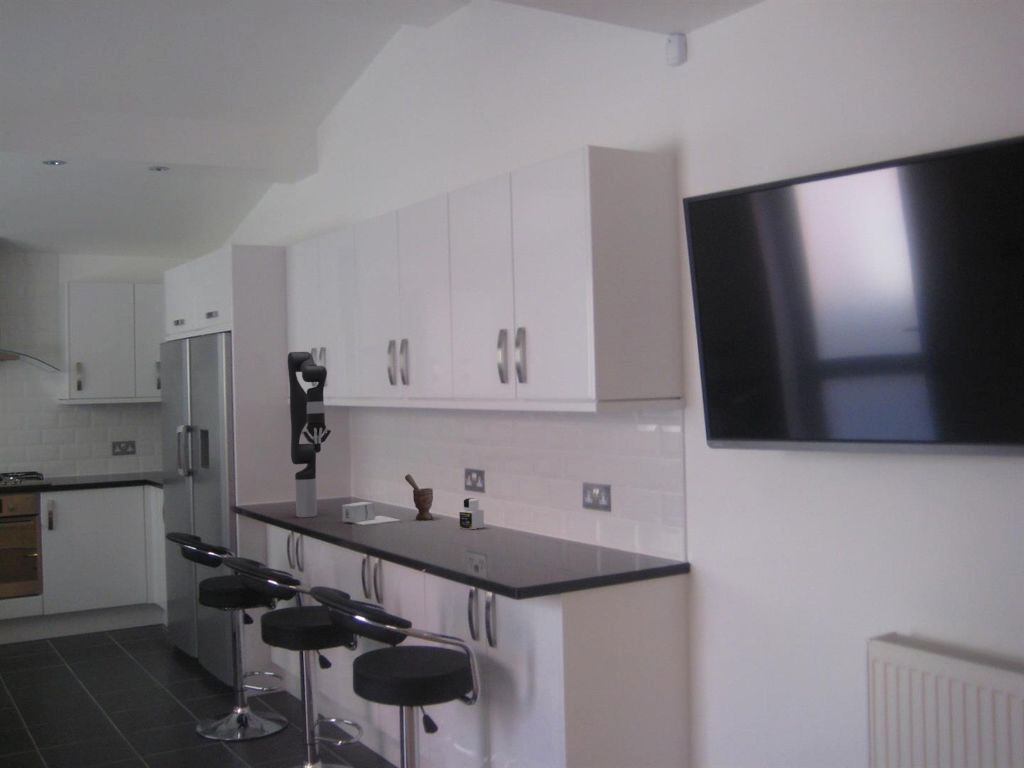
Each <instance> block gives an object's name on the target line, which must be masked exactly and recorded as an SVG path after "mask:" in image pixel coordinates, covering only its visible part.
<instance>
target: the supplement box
mask: <svg viewBox="0 0 1024 768" xmlns="http://www.w3.org/2000/svg"><path fill="white" fill-rule="evenodd" d="M341 514H342V515H341V516H342V522H346V523H349V522H353V523H354V522H360V521H365V520H371V519H375V516H376V505H375V502H369V501H360V502H353V503H347V504H346V503H345V504H342V505H341ZM353 523H352V524H353Z"/></svg>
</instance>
